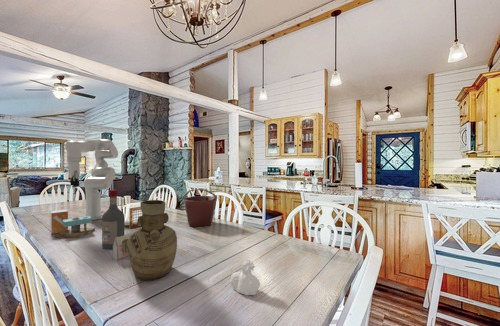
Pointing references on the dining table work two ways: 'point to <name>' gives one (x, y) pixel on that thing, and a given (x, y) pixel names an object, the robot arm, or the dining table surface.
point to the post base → (71, 235)
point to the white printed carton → (119, 247)
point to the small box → (58, 221)
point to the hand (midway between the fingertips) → (74, 186)
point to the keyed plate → (76, 221)
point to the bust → (245, 279)
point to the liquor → (112, 222)
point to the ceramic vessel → (151, 242)
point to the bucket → (200, 209)
